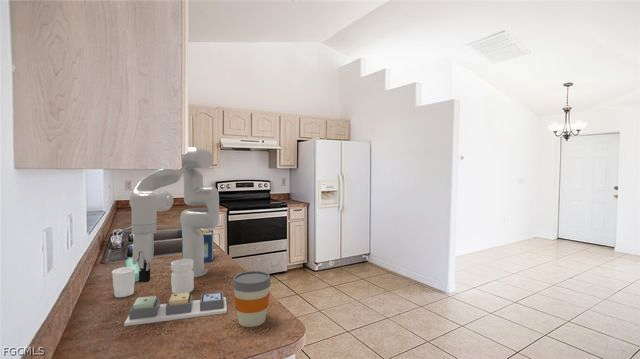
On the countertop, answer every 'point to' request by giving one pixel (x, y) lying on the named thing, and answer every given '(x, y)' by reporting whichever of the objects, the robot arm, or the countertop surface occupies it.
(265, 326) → the countertop surface
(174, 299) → the button
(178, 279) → the vase
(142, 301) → the button
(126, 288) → the white cup
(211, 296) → the button
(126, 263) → the container
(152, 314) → the button panel
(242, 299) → the reusable coffee cup
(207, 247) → the protein box
